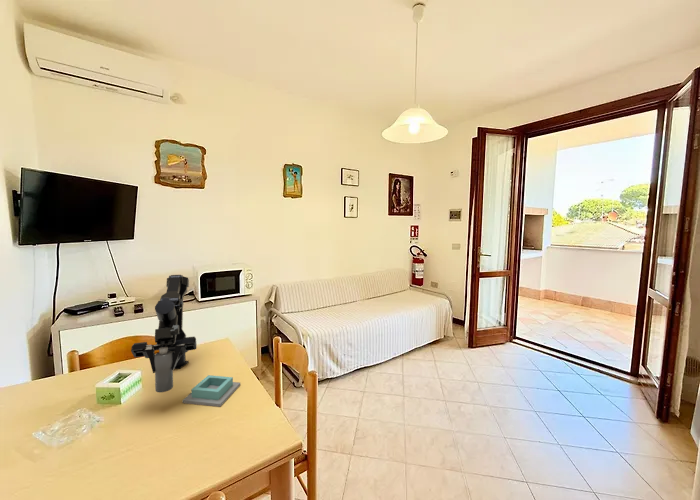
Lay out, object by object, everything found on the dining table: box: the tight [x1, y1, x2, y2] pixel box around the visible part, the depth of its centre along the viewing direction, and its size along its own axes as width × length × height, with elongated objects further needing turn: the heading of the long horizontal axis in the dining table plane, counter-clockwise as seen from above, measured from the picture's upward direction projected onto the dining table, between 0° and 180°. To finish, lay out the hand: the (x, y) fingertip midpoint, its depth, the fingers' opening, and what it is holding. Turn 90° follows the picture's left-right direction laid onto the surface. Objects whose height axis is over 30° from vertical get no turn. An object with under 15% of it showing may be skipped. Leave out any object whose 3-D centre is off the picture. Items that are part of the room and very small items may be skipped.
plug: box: [154, 347, 174, 393], centre depth 98 cm, size 5×5×14 cm
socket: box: [182, 374, 241, 408], centre depth 108 cm, size 14×14×4 cm
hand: (163, 371), depth 96 cm, fingers closed on plug, 5 cm apart
